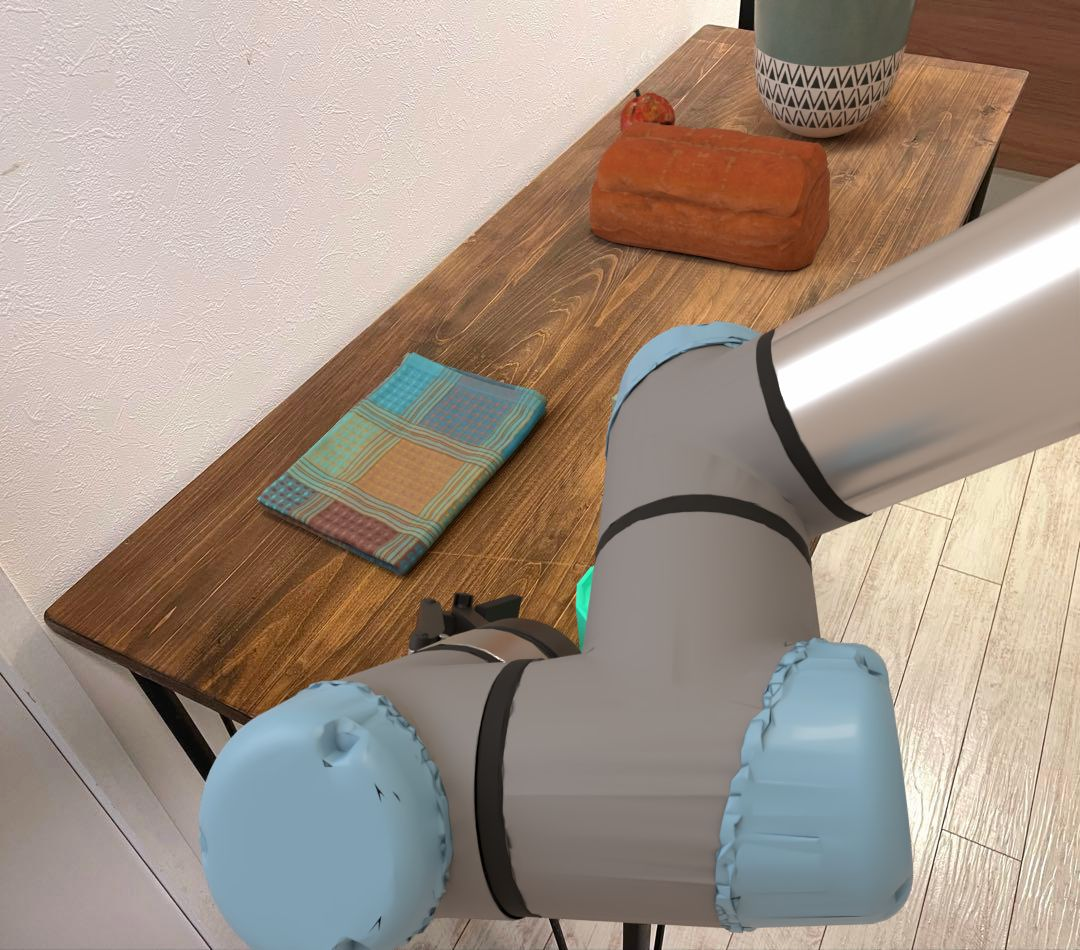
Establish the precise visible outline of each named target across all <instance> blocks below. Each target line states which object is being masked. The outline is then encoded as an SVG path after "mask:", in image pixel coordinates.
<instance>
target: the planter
mask: <svg viewBox="0 0 1080 950" xmlns="http://www.w3.org/2000/svg"><path fill="white" fill-rule="evenodd" d="M917 4H918V0H754V17H753V18H754V21H753V22H754V23H753V72H754V73H753V74H754V79H755V85H756V90H757V94H758V97H759V100H760V103H761V104H762V106H763V108H764V109H765V111H766V112H767V114H768V115H769V116H770V117H771V118H772V120H774V121H775V122H776V123H777V124H778V125H779V126H781V127H782V128H783V129H785V130H787V131H788V132H790V133H791V134H795V135H797V136H801V137H805V138H812V139H813V138H814V139H826V138H834V137H838V136H841V135H844V134H847V133H849V132H852V131H854V130H855V129H857V128H859V127H860V126H862V125H863V124H865V123H866V122H867V121H869V120H870V119H872V118H873V116H874V115H875V114H877V112H878V111H879V110H880V109H881V108H882V107H883V106H884V104H885V102H886V101H887V99H888V98H889V96H890V95H891V92H892V90H893V88H894V86H895V84H896V82H897V79H898V77H899V75H900V71H901V68H902V65H903V60H904V56H905V54H906V53H905V52H906V49H907V44H908V41H909V37H910V33H911V29H912V24H913V20H914V17H915V12H916V11H915V10H916V7H917Z"/></svg>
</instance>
